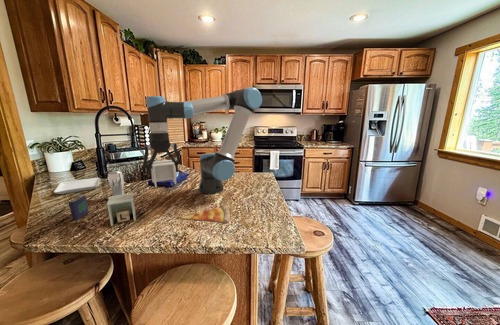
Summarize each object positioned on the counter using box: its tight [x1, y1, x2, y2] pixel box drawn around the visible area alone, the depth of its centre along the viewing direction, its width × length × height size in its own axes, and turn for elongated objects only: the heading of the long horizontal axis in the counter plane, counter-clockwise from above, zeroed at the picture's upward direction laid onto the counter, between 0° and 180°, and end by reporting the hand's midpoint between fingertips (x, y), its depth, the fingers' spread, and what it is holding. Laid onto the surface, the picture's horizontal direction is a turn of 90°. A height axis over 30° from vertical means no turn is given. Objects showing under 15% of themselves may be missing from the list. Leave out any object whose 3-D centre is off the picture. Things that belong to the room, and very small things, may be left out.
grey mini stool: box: [151, 159, 177, 188], centre depth 95 cm, size 9×9×10 cm
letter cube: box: [116, 207, 131, 223], centre depth 90 cm, size 5×4×4 cm
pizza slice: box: [180, 203, 231, 224], centre depth 96 cm, size 16×22×2 cm
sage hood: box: [106, 192, 137, 227], centre depth 89 cm, size 9×9×10 cm
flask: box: [68, 193, 90, 222], centre depth 93 cm, size 9×3×11 cm, turn 8°
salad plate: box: [53, 177, 100, 195], centre depth 131 cm, size 21×21×3 cm
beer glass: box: [107, 170, 125, 196], centre depth 112 cm, size 7×7×15 cm
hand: (164, 179), depth 96 cm, fingers closed on grey mini stool, 9 cm apart
